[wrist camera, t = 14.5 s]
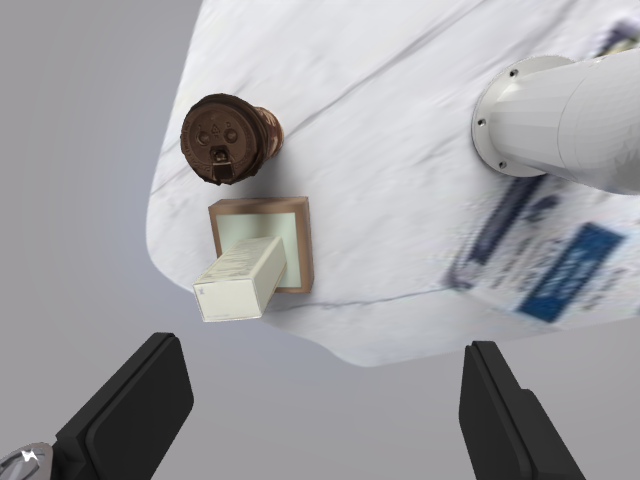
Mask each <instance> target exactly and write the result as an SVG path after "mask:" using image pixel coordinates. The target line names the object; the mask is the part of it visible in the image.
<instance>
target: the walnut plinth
mask: <svg viewBox="0 0 640 480" xmlns="http://www.w3.org/2000/svg"><path fill="white" fill-rule="evenodd" d="M208 209H209V214H210V220H211V225H212V231H213V236H214V242H215V247H216V253H217V258H219V257H220V256H221V255H222V254H223V253H224V252H225V251H226V250H227V249H228V248H229V247H230V246H231V245H232V244H234V243H235V242H236V241H239V240H246V239H255V238H264V237H274V236H281V237H282V242H283V246H284V252H285V257H286V262H287V267H286V269H285V271H284V273H283V275H282V277H281V279H280V281H279V283H278V285H277V287H276V289H275V291H274V292H289V293H310V290H311V287H312V284H313V280H314V271H313V258H312V245H311V231H310V218H309V205H308V197H282V198H251V199H221V200H220V201H218V202H216V203H215V204H213V205H211V206H209V207H208Z"/></svg>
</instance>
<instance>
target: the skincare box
mask: <svg viewBox="0 0 640 480" xmlns="http://www.w3.org/2000/svg"><path fill="white" fill-rule="evenodd" d="M286 267H287V262H286V257H285V252H284V246H283V242H282V237H281V236H274V237H264V238H255V239H246V240H239V241H236V242H235V243H234V244H232V245H231V246H230V247H229V248H228V249H227V250H226V251H225V252H224V253H223V254H222V255H221V256H220V257H219V258H218V259H217V260H216V261H215V262H214V263H213V264H212V265H211V266H210V267H209V268H208V269H207V270H206V271H205V272H204V273H203V274H202V275H201V276H200V277H199V278H198V279H197V280H196V281H195V282H194V283H193V284H192V287H193V290H194V293H195V297H196V300H197V303H198V306H199V309H200V312H201V315H202V318H203V321H204V322H215V321H229V320H240V319H249V318H250V319H251V318H260V317H262V315H263V313H264V311H265V309H266V307H267V305H268V303H269V301H270V299H271V297H272V295H273V293H274V291H275V289H276V287H277V285H278V283H279V281H280V279H281V277H282V275H283V273H284V271H285V269H286Z"/></svg>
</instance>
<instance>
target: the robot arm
mask: <svg viewBox="0 0 640 480" xmlns="http://www.w3.org/2000/svg"><path fill="white" fill-rule="evenodd" d="M510 72H512V73H513V76H512V77H510ZM479 120H481V122H482V123H481V124H480V125H478V121H479ZM472 137H473V141H474V144H475V147H476V149H477V151H478V153H479V155H480V156H481V158H482V159H483V160H484V161H485V162H486V163H487V164H488V165H489V166H491V167H492V168H493V169H495V170H497V171H499V172H501V173H504V174H507V175H510V176H516V177H533V176H538V175H543V174H545V173H550V174H553V175H556V176H559V177H562V178H565V179H568V180H571V181H574V182H577V183H580V184H583V185H586V186H590V187H593V188H596V189H599V190H603V191H606V192H610V193H615V194H621V195H640V47H639V48H634V49H631V50H627V51H623V52H618V53H614V54H610V55H606V56H602V57H598V58H594V59H589V60H585V61H581V62H576V61H574V60H572V59H570V58H567V57H563V56H559V55H541V56H535V57H531V58H528V59H525V60H522V61H520V62H517V63H515V64H513V65H511V66H509V67H508V68H507V69H505V70H504V71H502V72H501V73H499V74H498V75H497V76H496V77H495V78H494V79H493V80H492V81H491V82H490V83H489V85H488V86H487V87H486V89H485V90H484V91H483V93H482V95H481V97H480V99H479V100H478V102H477V105H476V108H475V111H474V114H473V121H472ZM500 162H502V165H501V166H499V163H500ZM193 403H194V397H193V393H192V389H191V385H190V381H189V376H188V372H187V368H186V364H185V360H184V356H183V352H182V348H181V344H180V341H179V339H178V338H177V337H175V335H174V334H173V333H158V332H157V333H154V334H153V335H152V336H151V337H150V338H149V339H148V340H147V341H146V342H145V343H144V344H143V345H142V346H141V347H140V348H139V349H138V350H137V351H136V352H135V353H134V354H133V355H132V356H131V357H130V358H129V360H127V361H126V362H125V364H124V365H123V366H122V367H121V368H120V369H119V370H118V371H117V372H116V373H115V374H114V375H113V376H112V377H111V378H110V379H109V380H108V381H107V382H106V383H105V385H103V387H101V388H100V390H98V392H97V393H96V394H95V395H94V396H93V397H92V398H91V399H90V400H89V401H88V402H87V403H86V404H85V405H84V406H83V407H82V408H81V409H80V410H79V411H78V412H77V413H76V414H75V415H74V416H73V418H71V420H70V421H69V422H68V423H67V424H66V425H65V426H64V427H63V428H62V429H61V430H60V431H59V432H58V433H57V434H56V438H57V441H56V443H55V444H54V445H53V446H50V445H49V444H48V443H43V442H40V443H32V444H29V445H27V446H24V447H21V448H19V449H17V450H15V451H13V452H11V453H10V454H8V455H7V456H5V457H4V458H2V459H1V460H0V480H151V478H152V476H153V474H154V473H155V471H156V469H157V468H158V466H159V464H160V463H161V461H162V459H163V457H164V456H165V454H166V452H167V451H168V449H169V447H170V445H171V444H172V442H173V440H174V439H175V437H176V435H177V434H178V432H179V430H180V428H181V427H182V425H183V423H184V422H185V420H186V418H187V417H188V415H189V413H190V411H191V410H192V407H193ZM459 422H460V426H461V430H462V433H463V436H464V440H465V443H466V446H467V450H468V453H469V456H470V459H471V463H472V466H473V469H474V473H475V476H476V479H477V480H586V479H585V477H584V476H583V474H582V472H581V471H580V469H579V467H578V466H577V464H576V462H575V461H574V459H573V457H572V456H571V454H570V452H569V451H568V449H567V447H566V446H565V444H564V442H563V441H562V439H561V437H560V436H559V434H558V432H557V431H556V429H555V427H554V426H553V424H552V422H551V421H550V419H549V417H548V416H547V414H546V412H545V411H544V409H543V408H542V406H541V404H540V402H539V401H538V399H537V397H536V396H535V395H534V393H533V392H532V391H530V390H529V389H521V388H520V386H519V384H518V382H517V380H516V379H515V377H514V375H513V374H512V372H511V370H510V368H509V366H508V365H507V363H506V361H505V359H504V358H503V356H502V354H501V352H500V350H499V349H498V347H497V345H496V344H495V342H493V341H473V342H472V346H469V345H467V346H466V348H465V357H464V367H463V376H462V386H461V396H460V405H459Z"/></svg>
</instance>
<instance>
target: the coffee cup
mask: <svg viewBox="0 0 640 480" xmlns="http://www.w3.org/2000/svg"><path fill="white" fill-rule="evenodd" d="M181 133H182V134H181V136H180V139H181V150H182V153H183V154H184V155H185V158H186V160H187V162H188V163H189V165H190V166H191V167H192V169H193V170H194V171H195V173H196V174H197V175H198V176H199V177H200V178H202V179H203V180H204V181H205V182H209V183H213V184H216V185H218V186H220V185H221V184H222V183H224V184H228V185H231V184H234V183H236V182H240V181H241V180H244V179H245V178H247V177H249V176H255V174H256V173H257V172H258V170H259V169H260V168H261V167H262V165H263V163H264V161H266V160H267V159H269V158H270V157H274V156H275V155H276V154H277V152H278V150H279V149H280V148H281V146H282V142H283V130H282V127H281V125H280V123H279V122H278V120H277V118H276V117H275V116H274V115H273V114H272V113H271V112H270V111H268V110H266V109H264V108H262V107H254V106H252V105H250V104H249V103H248V102H246V101H244V100H242V99H240V98H238V97H236V96H232V95H228V94H223V93H220V94H212V95H208V96H205V97H204V98H203V99H201V100H200V101H199V102H198V103H197V104H195V105H194V106H192V107H191V109H190V111H189V112H188V114H187V115H186V117H185V119H184V122H183V126H182V130H181Z"/></svg>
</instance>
